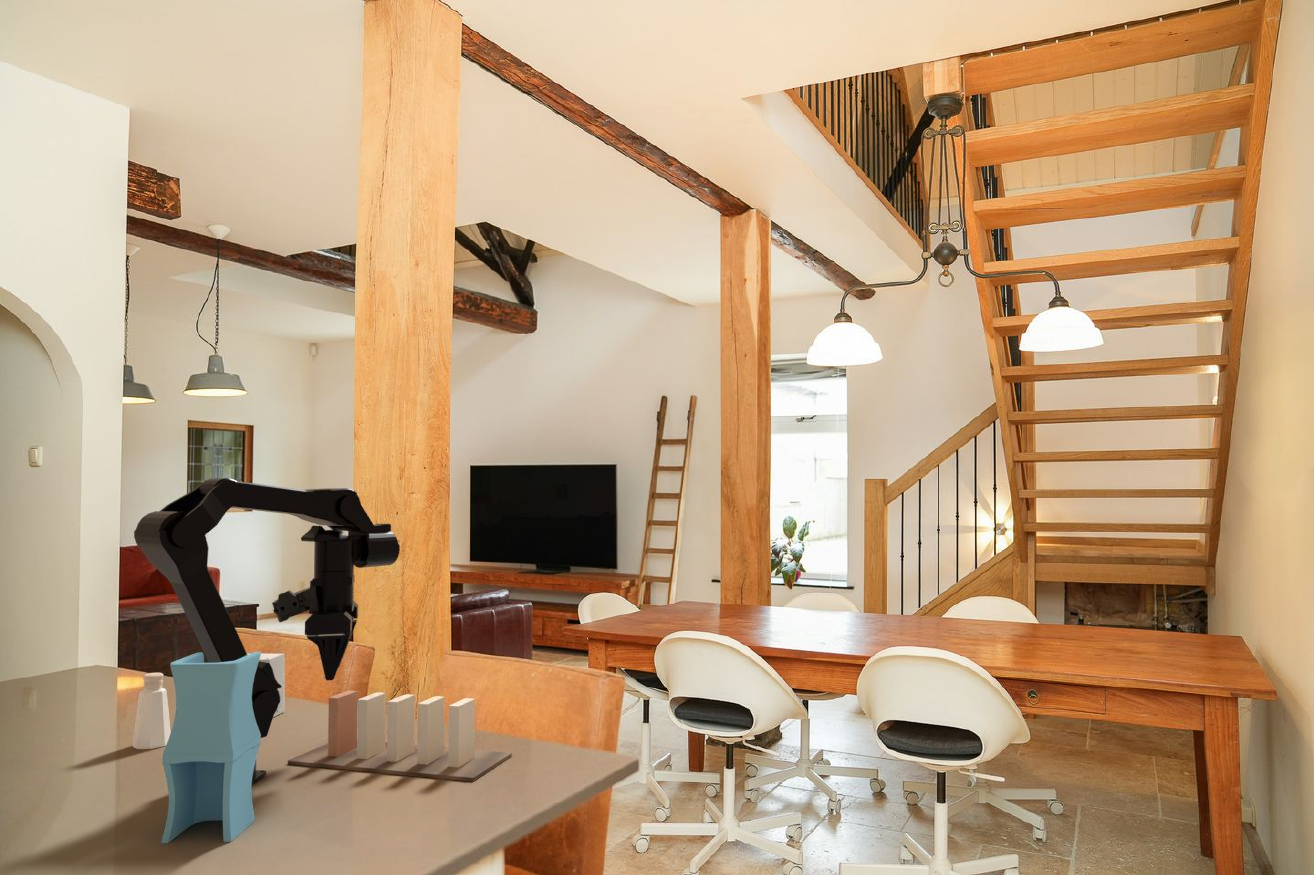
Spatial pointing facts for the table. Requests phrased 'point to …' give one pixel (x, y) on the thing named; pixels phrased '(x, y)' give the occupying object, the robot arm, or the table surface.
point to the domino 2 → (400, 727)
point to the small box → (277, 675)
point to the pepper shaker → (152, 714)
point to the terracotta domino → (342, 723)
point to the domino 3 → (431, 730)
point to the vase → (212, 745)
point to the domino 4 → (461, 732)
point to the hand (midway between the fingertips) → (332, 673)
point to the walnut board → (404, 763)
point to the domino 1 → (371, 725)
